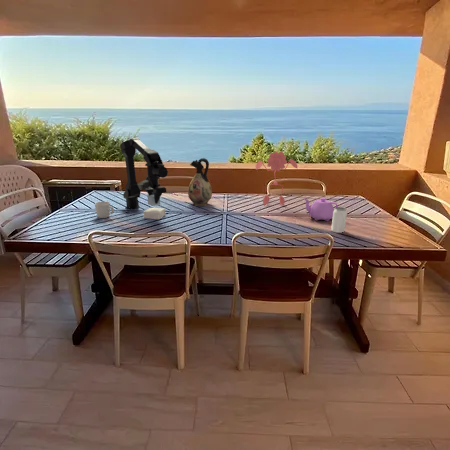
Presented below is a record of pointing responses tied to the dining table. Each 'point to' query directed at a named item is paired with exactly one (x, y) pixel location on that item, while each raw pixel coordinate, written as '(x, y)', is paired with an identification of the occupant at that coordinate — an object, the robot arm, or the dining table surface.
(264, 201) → the pink artificial flower
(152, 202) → the cube
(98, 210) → the cup
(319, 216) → the teapot
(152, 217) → the plinth
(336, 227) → the can
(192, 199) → the ceramic jug
